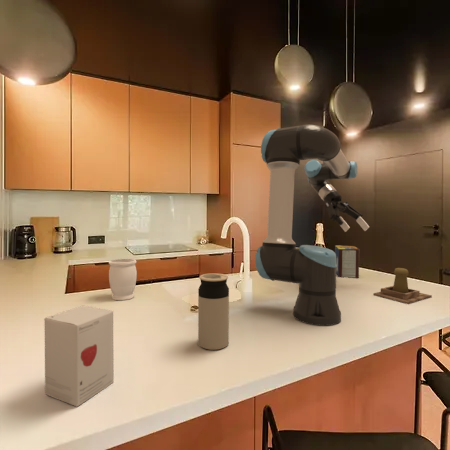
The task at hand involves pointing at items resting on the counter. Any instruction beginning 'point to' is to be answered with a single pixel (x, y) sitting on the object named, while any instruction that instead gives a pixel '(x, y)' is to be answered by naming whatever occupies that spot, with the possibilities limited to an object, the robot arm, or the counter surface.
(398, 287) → the cork
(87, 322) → the supplement box
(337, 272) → the protein box
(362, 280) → the counter surface
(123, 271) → the jar
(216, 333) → the travel mug
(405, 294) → the walnut holder
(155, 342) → the counter surface
